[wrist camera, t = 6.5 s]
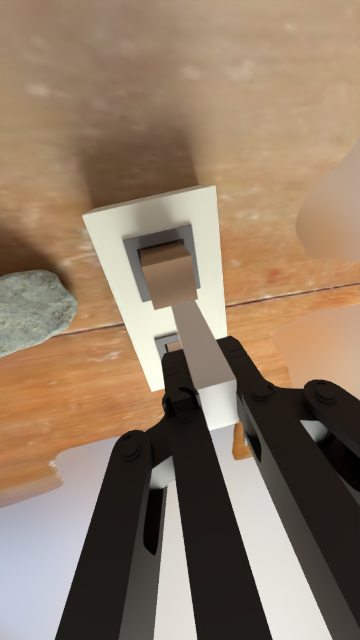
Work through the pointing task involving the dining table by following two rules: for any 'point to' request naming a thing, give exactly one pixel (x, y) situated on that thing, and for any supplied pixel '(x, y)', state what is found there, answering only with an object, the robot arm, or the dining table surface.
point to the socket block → (127, 275)
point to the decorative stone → (33, 309)
